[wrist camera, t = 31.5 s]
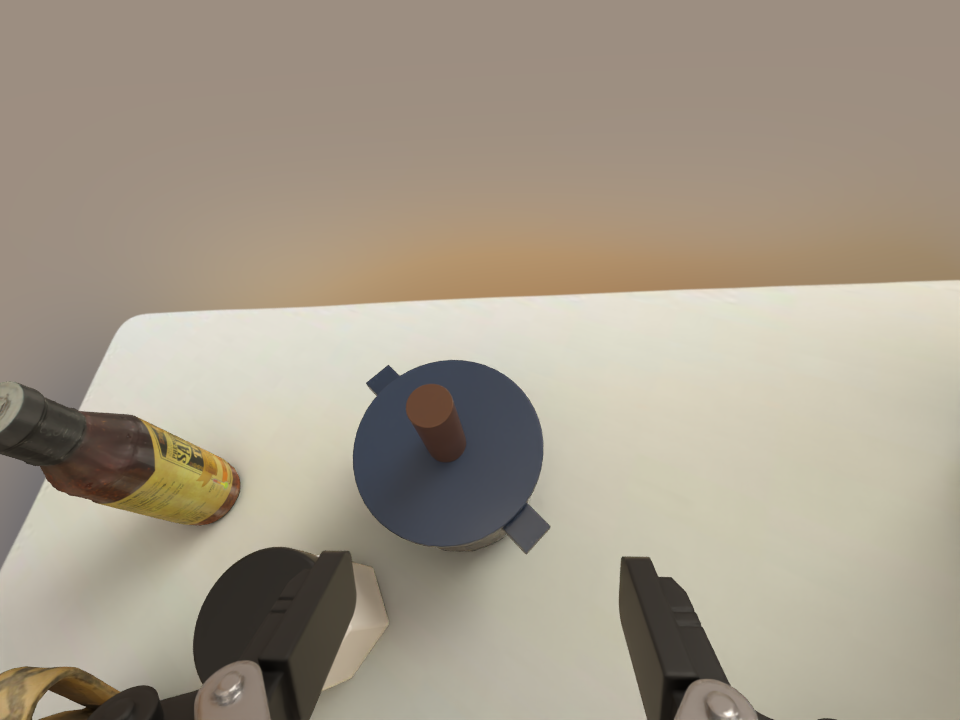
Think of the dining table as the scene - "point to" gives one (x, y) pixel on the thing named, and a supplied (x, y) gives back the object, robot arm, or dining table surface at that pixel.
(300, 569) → the jar
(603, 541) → the dining table surface
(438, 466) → the lid
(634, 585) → the robot arm
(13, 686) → the ceramic bowl
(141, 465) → the sauce bottle
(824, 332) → the dining table surface
